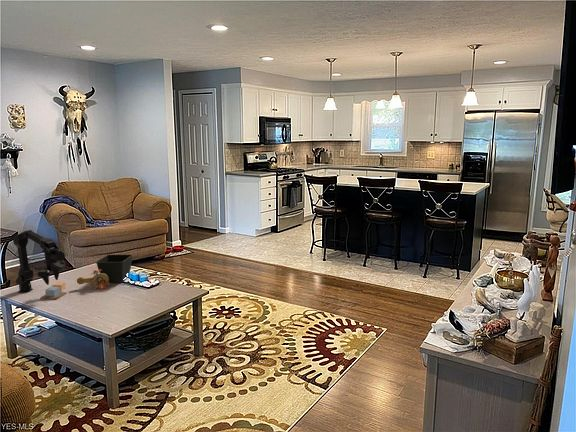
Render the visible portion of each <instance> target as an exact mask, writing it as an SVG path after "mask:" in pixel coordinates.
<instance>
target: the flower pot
mask: <svg viewBox="0 0 576 432" xmlns="http://www.w3.org/2000/svg"><path fill="white" fill-rule="evenodd" d="M132 261H133V254H107V255H105V256H103V257H102V258H100V259H99V260H97V261H95V263H96V267H97V269H98V270H101V269H102V270H101V271H99V273H104V274H106V275H107V276H108V277H109V281H108V282H109V284H115V283H116V284H118V283H119V284H121V283H123V282H124V281H123V279H124V276H125V275H126V274H127V273H129V274H130V273H131V272H130V271H131V268H132ZM98 270H97V271H98ZM122 281H123V282H122Z"/></svg>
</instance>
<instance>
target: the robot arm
mask: <svg viewBox="0 0 576 432" xmlns="http://www.w3.org/2000/svg"><path fill="white" fill-rule="evenodd" d="M29 240H31V241H33V242H34V243H36V244H38V245H39V247H40V248H41V249H42V250H41V253H44V261H43V264H45V267H44V269H41V270H39V271H37V276H38V277H40V278H41V279H42V280H43V282H44V283H45V284H46V285H48V286H49V284H50V276H51V272H52V273H53V277H54V279H55V280H56V281H58V280H59V276H60V273H61V272H62V271H63V270H65V269H64V268H65V267H66V262H65V261H63V260H65V258H66V254H65V252H63V250H61V249H60V247H59V246H58V245H57V243H56V242H55V240H54V239H53V238H49V237H47V238H46V237H43V236H42V235H40V234H38V233H36V232H34V231H33V230H32V229H28V230H23V231H22V232H20V233H19V234H14V235H13V236H12V242H13V244H14V246H16V248H17V254H18V261H19V271H18V272H17V273H18V274H17V275H18V276H17V278H16V279H15V284H17V285H18V289H19V290H18V291H17V293H24V292H27V293H29V292H31V291H32V290H34V288H32V283H31V282H32V281H33V280H34V270H33V269H31V267H30V266H29V259H28V258H29V257H28V251H27V246H28V243H29Z"/></svg>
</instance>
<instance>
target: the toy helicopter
mask: <svg viewBox="0 0 576 432" xmlns="http://www.w3.org/2000/svg"><path fill="white" fill-rule="evenodd" d="M101 270H102V269H101ZM101 270H96V269H95V270H93V272H91V273H90V274H89V275H90V276H91V275H93V277H85V278H84V277H83V276H80V277H78V278H77V279H76V282H77V284H78V285H83V284H91V285H92V286H93V287H92V288H93V289H94V290H96V289H99V291H100V290H101V291H103V290H105V289H106V288H107V287H108V286H109V285H110V283H109V282H108V281H109V277H108V276H107V275H106V274H104V273H100V272H99V271H101Z"/></svg>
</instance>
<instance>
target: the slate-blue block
mask: <svg viewBox="0 0 576 432" xmlns="http://www.w3.org/2000/svg"><path fill="white" fill-rule="evenodd" d="M61 292H62V291H60V287H52V286H50V287H47V288H46V289H45V295H46V296H50V297H55V296H57V295H59V294H60V293H61Z"/></svg>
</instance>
